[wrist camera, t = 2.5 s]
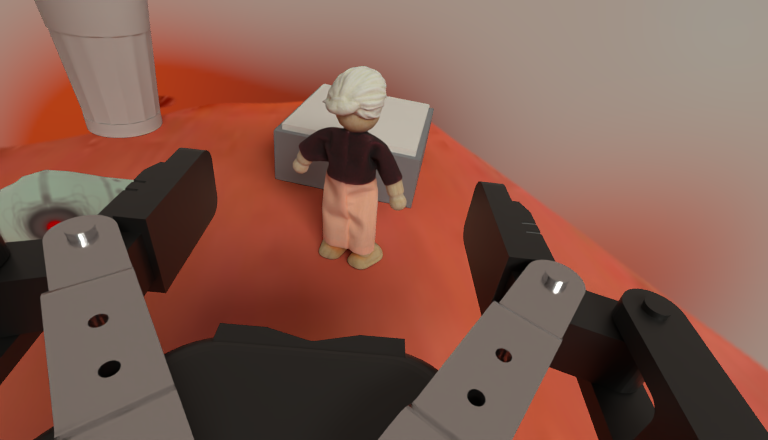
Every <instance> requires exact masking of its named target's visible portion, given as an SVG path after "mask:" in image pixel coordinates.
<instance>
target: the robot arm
mask: <svg viewBox="0 0 768 440" xmlns="http://www.w3.org/2000/svg"><path fill="white" fill-rule="evenodd" d="M216 208H217V192H216V185H215V178H214V171H213V164H212V158H211V155H210V153H209V152H208V151H207V150H198V149H189V148H179V149H178V150H177V151H176V152H175V153H174V154H173V155H172V156H171V157H170V158H169V159H168V160H167V161H166V162H165V163H164V162H160V163H157V164H155V165H153V166H151V167H149V168H147V169H145V170H143V171H142V172H141V173H140V174H139V175H138V176H137V177H136V178H135V179H134V182H131V183H130V184H129V185H128V186H127V187H126V188H125V190H123V191H121V192H120V193H119V194H118V195H117V196H116V197H115V198H114V199H113V200H112V201H111V202H110V203H109V204H108V205H107V206H106V207H105V208H104V209H103V210H102V211H101V212H100V213H99V214H97V215H84V216H78V217H74V218H71V219H68V220H65V221H63V222H60V223H58V224H57V225H55V226H53V227H52V228H50V229H49V230H48V231H47V232H46V234H45V235H44V237H43V239H36V240H26V241H15V242H5V241H4V240H3V238H2V236H1V234H0V385H1V383H2V382H3V381H4V380H5V378H6V377H7V376H8V375H9V373H10V372H11V371H12V370H13V368H14V367H15V366H16V364H17V363H18V362H19V361H20V359H21V358H22V357H23V356H24V354H25V353H26V352H27V351H28V349H29V348H30V347H31V345H32V344H33V343H34V342H35V340H36V339H37V338H38V337H39V335H40V334H41V333H42V331H44V338H45V347H46V357H47V366H48V376H49V385H50V395H51V404H52V414H53V423H54V426H53V427H52V428H50V429H49V430H47V431H46V432H44V433H43V434H41V435H40V436H38V437H36V438H35V439H33V440H512V439H513V437H514V435H515V433H516V431H517V429H518V427H519V425H520V423H521V421H522V419H523V417H524V415H525V413H526V411H527V409H528V407H529V405H530V403H531V401H532V399H533V397H534V395H535V393H536V391H537V389H538V388H539V386H540V384H541V382H542V380H543V378H544V376H545V374H546V372H547V370H548V368H549V367H551V368H553V369H556V370H559V371H561V372H564V373H567V374H570V375H572V376H575V377H576V378H577V381H578V383H579V386H580V389H581V392H582V395H583V397H584V400H585V403H586V406H587V409H588V411H589V414H590V417H591V420H592V423H593V425H594V428H595V431H596V434H597V436H598V439H599V440H768V432H767V431H766V429H765V428H764V426H763V425H762V424H761V422H760V421H759V419H758V418H757V416H756V415H755V414H754V412H753V411H752V409H751V408H750V407H749V405H748V404H747V402H746V401H745V399H744V398H743V397H742V395H741V394H740V392H739V391H738V390H737V388H736V387H735V385H734V384H733V383H732V381H731V380H730V378H729V377H728V375H727V374H726V373H725V371H724V370H723V368H722V367H721V366H720V364H719V363H718V361H717V360H716V358H715V357H714V356H713V354H712V353H711V351H710V350H709V349H708V347H707V346H706V344H705V343H704V341H703V340H702V339H701V337H700V336H699V334H698V333H697V332H696V330H695V329H694V327H693V326H692V324H691V323H690V322H689V320H688V319H687V317H686V316H685V315H684V313H683V312H682V311H681V310H680V309H679V308H678V307H677V306H676V305H675V304H673V303H672V302H671V301H669V300H668V299H666V298H664V297H663V296H661V295H658V294H656V293H654V292H651V291H648V290H643V289H630V290H627V291H625V292H624V294H623V295H622V297H621V298H620V300H619V301H616V300H613V299H610V298H607V297H604V296H601V295H598V294H595V293H592V292H589V291H586V288H585V284H584V282H583V280H582V279H581V278H580V276H579V275H578V274H577V273H575V272H574V271H573V270H571V269H570V268H568V267H567V266H565V265H563V264H560V263H558V262H555V260H554V258H553V256H552V254H551V252H550V250H549V248H548V246H547V244H546V242H545V240H544V238H543V236H542V235H541V234H540V230H539V229H538V227H537V225H536V223H535V221H534V219H533V217H532V215H531V213H530V212H529V211H528V210H527V209H526V208H525V207H524V206H523V205H522V204H521V203H519V202H516V201H512V200H511V198H510V196H509V194H508V192H507V189H506V187H505V185H504V184H498V183H489V182H478V183H477V185H476V187H475V190H474V194H473V197H472V201H471V204H470V207H469V211H468V214H467V218H466V221H465V225H464V233H463V239H464V245H465V249H466V253H467V258H468V262H469V266H470V270H471V274H472V278H473V282H474V287H475V291H476V295H477V299H478V303H479V307H480V311H481V315H482V316H481V317H480V319H479V320H478V321H477V322H476V324H475V325H474V326H473V327H472V329H471V330H470V331H469V333H468V334H467V335H466V336H465V338H464V339H463V340H462V341H461V343H460V344H459V345H458V346H457V348H456V349H455V350H454V352H453V353H452V354H451V355H450V357H449V358H448V359H447V360H446V362H445V363H444V364H443V365H442V367H441V368H440V369H439V371H438V370H437V369H436V368H434V367H433V366H431V365H430V364H428V363H426V362H425V361H423V360H421V359H419V358H416V357H414V356H412V355H409V354H406V353H405V339H398V338H387V337H375V336H364V335H358V336H350V337H343V338H335V339H327V340H319V341H309V340H305V339H302V338H299V337H296V336H293V335H290V334H287V333H283V332H280V331H277V330H274V329H271V328H268V327H260V326H248V325H236V324H225V323H220V325H219V327H218V329H217V331H216V334H215V336H214V338H208V339H204V340H199V341H195V342H192V343H189V344H186V345H183V346H181V347H178V348H176V349H174V350H171V351H170V352H168V353H166V354H163V351H162V348H161V345H160V342H159V339H158V337H157V334H156V331H155V328H154V325H153V322H152V320H151V317H150V314H149V311H148V308H147V305H146V302H145V300H144V295H145V294H146V292H147V291H150V292H161V293H166V292H167V290H168V289H169V287H170V286H171V284H172V282H173V281H174V279H175V278H176V276H177V274H178V273H179V271H180V270H181V268H182V266H183V265H184V263H185V262H186V260H187V258H188V257H189V255H190V253H191V252H192V250H193V249H194V247H195V245H196V244H197V242H198V241H199V239H200V237H201V236H202V234H203V233H204V231H205V229H206V228H207V226H208V225H209V223H210V221H211V220H212V218H213V217H214V215H215V212H216ZM644 382H645V383H646V385H647V387H648V389H649V391H650V393H651V395H652V397H653V400H654V405H655V408H654V406H653V404H652V402H651V400H650V398H649V396H648V394H647V392H646V390H645V388H644V386H643V383H644Z"/></svg>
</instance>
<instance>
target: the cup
mask: <svg viewBox="0 0 768 440" xmlns="http://www.w3.org/2000/svg"><path fill="white" fill-rule="evenodd" d="M34 1H35V3H36V5H37V7H38V10H39V12H40V14H41V17H42V19H43V21H44V23H45V26H46V27H47V28H48V30H49V32H50V35H51V37H52V39H53V42H54V44H55V47H56V49H57V51H58V54H59V56H60V58H61V61H62V63H63V66H64V68H65V71H66V73H67V75H68V78H69V80H70V83H71V85H72V87H73V90H74V92H75V94H76V97H77V99H78V102H79V104H80V107H81V109H82V111H83V116H84V119H85V122H86V125H87V128H88V130H89V131H90V132H92V133H94V134H96V135H99V136H104V137H112V138H126V137H135V136H140V135H144V134H148V133H150V132H153V131H155V130H156V129H158V128H159V127H160V126H161V125H162V118H161V113H160V107H159V99H158V90H157V82H156V73H155V65H154V56H153V48H152V39H151V31H150V22H149V12H148V2H147V0H34Z"/></svg>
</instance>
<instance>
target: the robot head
mask: <svg viewBox="0 0 768 440" xmlns="http://www.w3.org/2000/svg"><path fill="white" fill-rule="evenodd" d="M131 182H134V180H128V179H118V178H108V177H101V176H95V175H89V174H83V173H77V172H69V171H55V170H43V171H40V172H37V173H33V174H30V175H27V176H23V177H21V178H20V179H19V180H18V181H17V182H15V183H13V184H11V185H9V186H7V187H5V188H3V189H1V190H0V234H1V236H2V238H3V240H4V241H5V242H15V241H26V240H36V239H43V237H44V235H45V234H46V232H47V231H48V230H49V229H50V228H52V227H53V226H55V225H57V224H58V223H60V222H63V221H65V220H68V219H71V218H74V217H78V216H84V215H97V214H99V213H100V212H101V211H102V210H103V209H104V208H105V207H106V206H107V205H108V204H109V203H110V202H111V201H112V200H113V199H114V198H115V197H116V196H117V195H118V194H119V193H120V192H121V191H123V190H125V188H126V187H127V186H128V185H129V184H130V183H131Z"/></svg>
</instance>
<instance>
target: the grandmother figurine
mask: <svg viewBox="0 0 768 440" xmlns="http://www.w3.org/2000/svg"><path fill="white" fill-rule="evenodd" d="M385 83H386V82H385V79H384V78H382V76H381V74H380V73H379V72H378V71H376V70H374V69H370V68H368V67H366V66H360V67H354V68H350V69H348V70H347V71H345V72H344V73H342V74H340V75H339V76H338V77H337V79H336V80H335V81H334V83H333V85H332V86H331V87H330V88H329V91H328V94H327V98H326V99H325V100H324V101H322V102H324V103H325V104H326V105H325V107H326V109H327V110H328V111H329V112H330V113H332V114H335V115H336V117H337V119H338V121H339V123H340V124H341V125H342V126H343V127H344V128H339V127H327V128H323V129H320V130H318V131H316V132H314V133H313V134H311V135H310V136H309V137H307V138H306V139H305V140H303V141H302V142H301V143H300V144H299V152H298V154H297V158H296V159H295V160H294V162H293V169H294V170H295V171H296V172H297V173H301V174H302V173H305V172H307V170H308V168H309V165H310V164H311V163H312V162H313V161H327V162H329V166H328V169H327V171H326V176H325V184H324V191H323V202H322V218H323V238H324V239H323V241H322V244H321V246H320V248H319V254H320V255H321V256H322V257H325V258H328V259H336V258H339V257H340V256H341V255H342V254H343V253H344V252H345V251H346V250H347V249H350V250H351V251H352V253H351V254H350V255H349V257H348V260H347V261H348V263H349V265H351V266H352V267H354V268H356V269H366V268H368V267H370V266H371V265H373V264H375V263H376V262H378V261H380V260H381V259H382V256H383V253H382V250H381V248H380V247H379V245H378V244H376V243H375V234H376V217H377V205H378V187H377V180H376V169H377V171H378V173H379V175H380V177H381V180H382V182H383V183H384V185H385V187H386V190H387V194H388V195H389V197H390V201H389V202H390V206H391V208H392V209H394V210H402V209H404V208H405V206H406V202H407V201H406V198H405V196H404V195H403V193H404V188H403V183H402V174H401V171H400V169H399V167H398V165H397V162H396V160H395V158H394V156H393V154H392V153H391V151H390V149H389V147H388V146H387V144H385V143H384V142H383V141H382V140H380V139H379V138H378V137H376V136H374V135H372V134H371V133H369V132H368V130H370V129H372V128H373V127H374V126H375V125H376V123H377V122H378V120H379V117H380V114H381V111H382V107H383V106H384V105H385V104H384V100H385V98H386V97H387V95H386V84H385Z"/></svg>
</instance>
